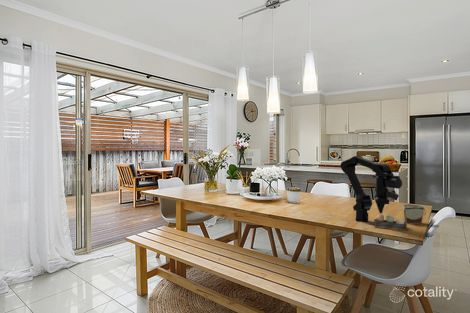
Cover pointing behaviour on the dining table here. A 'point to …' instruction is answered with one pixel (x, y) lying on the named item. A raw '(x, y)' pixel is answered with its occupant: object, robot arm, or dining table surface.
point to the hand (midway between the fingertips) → (380, 213)
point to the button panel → (390, 225)
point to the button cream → (399, 221)
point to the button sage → (390, 219)
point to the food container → (413, 213)
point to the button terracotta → (380, 218)
